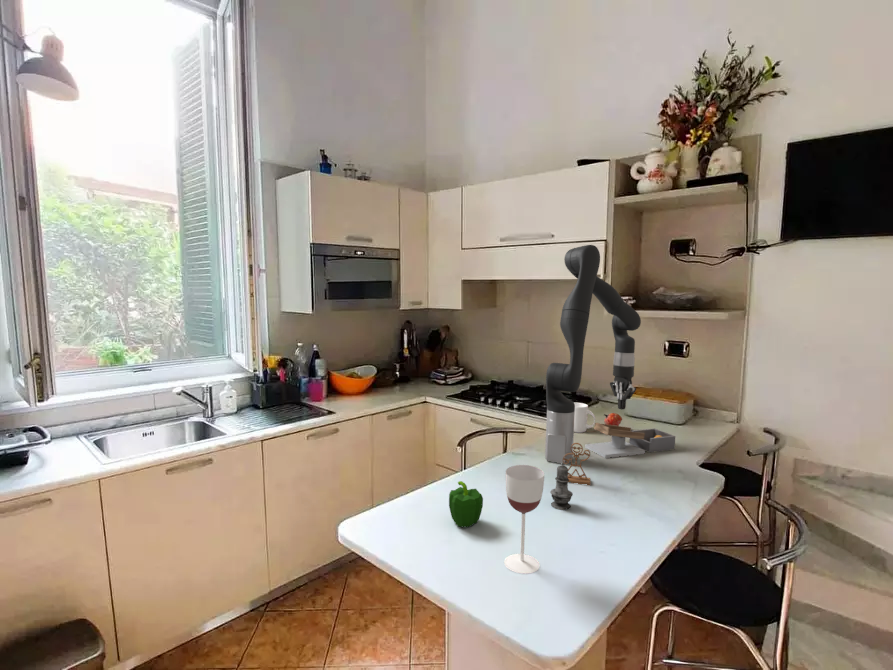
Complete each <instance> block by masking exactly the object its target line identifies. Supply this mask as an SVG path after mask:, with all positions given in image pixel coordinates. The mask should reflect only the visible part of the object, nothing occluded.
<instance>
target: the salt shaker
mask: <svg viewBox="0 0 893 670" xmlns="http://www.w3.org/2000/svg"><path fill="white" fill-rule="evenodd" d="M568 469H569V467H568V466H565V464H564V463H562V464H560V465H558V466H557V469H556V477H555V478H554V479H555V482H556V483H555V488H552V489H551V490H550V494H551V498H552V500H553V501H552V502H551V503H550V505H551V507H552V508H554V509H555V510H560V511H567V510H570V509H571V508H572V505H571V504H570V501H571V499H572V497H573V496H574V495H573V492H572V491H571V490H569V487H568V486H569V485H568V484H569V483H568V481H569V479H568V473H569V471H568Z"/></svg>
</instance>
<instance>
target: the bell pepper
mask: <svg viewBox="0 0 893 670" xmlns="http://www.w3.org/2000/svg"><path fill="white" fill-rule="evenodd" d="M457 484H458V485H459V487H457V488H455V489H451V490H450V492H449V494H448V507H449V508H448V509H449V511H450V516H451V518H452V520H453V522H454V523H455V524H456V525H457V526H458V527H461V528H470V527H472V526H473V525H475V524H477V523H478V522H479V520H480V517H481V515H482V510H483V505H484V498H483V495H482V493H480V492H479V491H478V489H477V488H470V489H468V487H467V484H466V483H465V482H464V481H461V480H459V481H457Z"/></svg>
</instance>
